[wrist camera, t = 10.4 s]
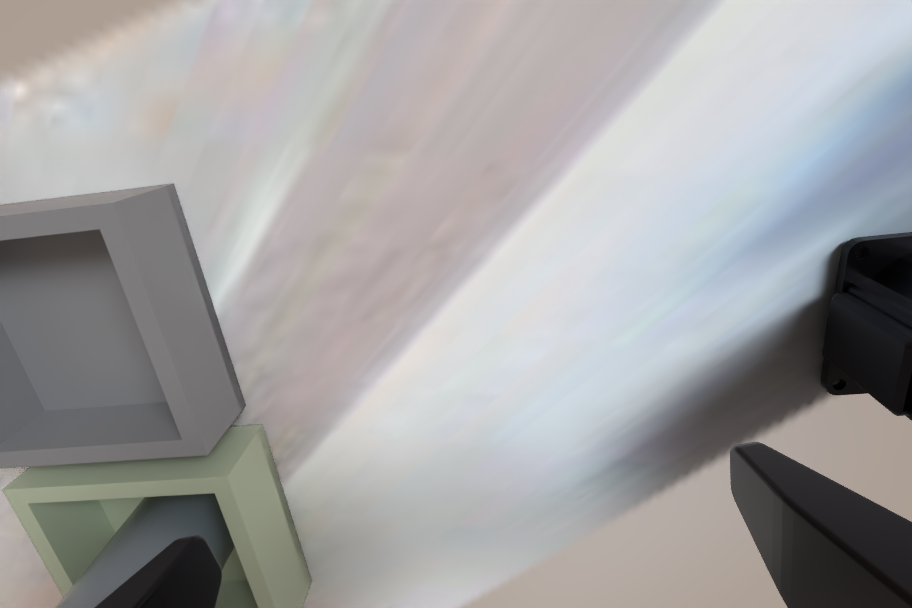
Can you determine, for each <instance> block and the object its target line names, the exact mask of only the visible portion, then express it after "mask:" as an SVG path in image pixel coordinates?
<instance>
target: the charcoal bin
mask: <svg viewBox="0 0 912 608" xmlns="http://www.w3.org/2000/svg"><path fill="white" fill-rule="evenodd" d="M245 406H246V405H245V402H244V399H243V396H242V393H241V390H240V386H239V383H238V380H237V377H236V374H235V371H234V368H233V365H232V362H231V359H230V356H229V353H228V350H227V346H226V343H225V340H224V337H223V334H222V331H221V328H220V325H219V322H218V319H217V316H216V313H215V310H214V307H213V303H212V300H211V297H210V294H209V291H208V288H207V285H206V282H205V279H204V276H203V273H202V270H201V267H200V263H199V260H198V257H197V254H196V251H195V248H194V245H193V242H192V239H191V236H190V233H189V230H188V227H187V223H186V220H185V217H184V214H183V211H182V208H181V205H180V202H179V199H178V196H177V193H176V190H175V187H174V184H166V185H158V186H150V187H142V188H134V189H126V190H118V191H110V192H101V193H93V194H85V195H77V196H69V197H61V198H53V199H44V200H36V201H28V202H20V203H12V204H4V205H0V468H16V467H31V466H47V465H63V464H78V463H94V462H110V461H125V460H141V459H157V458H172V457H188V456H204V455H208V454H209V453H210V451H211V450H212V449H213V447H214V446H215V445H216V444H217V442H218V441H219V440H220V438H221V437H222V436H223V434H224V433H225V432H226V430H227V429H228V428H229V427H230V425H231V424H232V423H233V421H234V420H235V419H236V417H237V416H238V415H239V413H240V412H241V411H242V410H243V408H244V407H245Z"/></svg>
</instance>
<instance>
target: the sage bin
mask: <svg viewBox="0 0 912 608" xmlns="http://www.w3.org/2000/svg"><path fill="white" fill-rule="evenodd" d="M2 491H3V492H4V494H5V496H6V498H7V499H8V501H9V503H10V505H11V506H12V508H13V510H14V512H15V513H16V515H17V517H18V519H19V520H20V522H21V524H22V525H23V527H24V529H25V531H26V532H27V534H28V536H29V538H30V539H31V541H32V543H33V545H34V546H35V548H36V550H37V552H38V553H39V555H40V557H41V559H42V560H43V562H44V564H45V566H46V567H47V569H48V571H49V573H50V574H51V576H52V578H53V580H54V581H55V583H56V585H57V587H58V588H59V590H60V592H61V594H62V595H63V597H64V596H65V595H66V594H67V592H68V591H69V590H70V589H71V587H72V586H73V585H74V584H75V582H76V581H77V580H78V579H79V577H80V576H81V575H82V574H83V573H84V571H85V570H86V569H87V568H88V566H89V565H90V564H91V563H92V561H93V560H94V559H95V558H96V556H97V555H98V554H99V553H100V552H101V550H102V549H103V548H104V547H105V545H106V544H107V543H108V542H109V540H110V539H111V538H112V537H113V535H114V534H115V533H116V532H117V531H118V529H119V528H120V527H121V526H122V524H123V523H124V522H125V521H126V519H127V518H128V517H129V516H130V514H131V513H132V512H133V511H134V510H135V508H136V507H137V506H138V505H139V503H140V502H141V501H142V500H143V498H144V497H155V496H173V495H191V494H209V493H215V495H216V498H217V501H218V503H219V506H220V509H221V511H222V514H223V517H224V519H225V522H226V524H227V527H228V530H229V532H230V535H231V538H232V540H233V543H234V546H235V547H234V549H233V551H232V553H231V554H230V556H229V558H228V560H227V562H226V564H225V566H224V568H223V569H222V581H221V586H220V590H219V594H218V598H217V602H216V606H215V608H302V607H303V604H304V602H305V599H306V596H307V593H308V591H309V588H310V585H311V582H312V580H311V577H310V574H309V571H308V567H307V564H306V561H305V558H304V555H303V552H302V548H301V545H300V542H299V539H298V536H297V533H296V529H295V526H294V523H293V520H292V517H291V514H290V510H289V507H288V504H287V501H286V498H285V495H284V491H283V488H282V485H281V482H280V479H279V476H278V472H277V469H276V466H275V463H274V460H273V457H272V454H271V450H270V447H269V444H268V441H267V438H266V435H265V431H264V428H263V425H251V426H237V427H229V428H228V429H227V430H226V432H225V433H224V434H223V436H222V437H221V438H220V440H219V441H218V442H217V444H216V445H215V446H214V447H213V449H212V450H211V451H210V453H209V454H208V455H204V456H188V457H172V458H157V459H141V460H125V461H110V462H94V463H78V464H63V465H47V466H31V467H29V468H28V469H27V470H26V471H24V472H23V473H22V474H21V475H19V476H18V477H17V478H16V479H15V480H13V481H12V482H11V483H10V484H9V485H7V486H6V487H5V488H4V489H3V490H2Z"/></svg>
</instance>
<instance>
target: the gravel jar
mask: <svg viewBox="0 0 912 608" xmlns="http://www.w3.org/2000/svg"><path fill="white" fill-rule="evenodd" d="M194 535H200V536H202V537H204V538H205V539H206V541H207V543H208V545H209V546H210V548H211V550H212V552H213V554H214V556H215V557H216V559H217V561H218V563H219V565H220V567H221V571H222V569H223V568H224V566H225V564H226V562H227V560H228V558H229V556H230V554H231V553H232V551H233V549H234V547H235V546H234V543H233V540H232V538H231V535H230V532H229V530H228V527H227V524H226V522H225V519H224V517H223V514H222V511H221V509H220V506H219V503H218V501H217V498H216V495H215V493H209V494H191V495H173V496H155V497H144V498H143V500H142V501H141V502H140V503H139V505H138V506H137V507H136V508H135V510H134V511H133V512H132V513H131V514H130V516H129V517H128V518H127V519H126V521H125V522H124V523H123V524H122V526H121V527H120V528H119V529H118V531H117V532H116V533H115V534H114V535H113V537H112V538H111V539H110V540H109V542H108V543H107V544H106V545H105V547H104V548H103V549H102V550H101V552H100V553H99V554H98V555H97V556H96V558H95V559H94V560H93V561H92V563H91V564H90V565H89V566H88V568H87V569H86V570H85V571H84V573H83V574H82V575H81V576H80V577H79V579H78V580H77V581H76V582H75V584H74V585H73V586H72V587H71V589H70V590H69V591H68V592H67V594H66V595H65V596H64V597H63V598H62V600H61V601H60V602H59V603H58V605H57V606H56V607H55V608H94V607H95V606H97V605H98V604H99V603H100V602H101V601H103V600H104V599H105V598H106V597H107V596H109V595H110V594H111V593H112V592H113V591H115V590H116V589H117V588H118V587H119V586H121V585H122V584H123V583H124V582H125V581H127V580H128V579H129V578H130V577H131V576H133V575H134V574H135V573H136V572H137V571H139V570H140V569H141V568H142V567H143V566H145V565H146V564H147V563H148V562H149V561H151V560H152V559H153V558H154V557H155V556H156V555H158V554H159V553H160V552H161V551H162V550H164V549H165V548H166V547H167V546H168V545H170V544H171V543H172V542H173V541H175V540H176V539H179V538H182V537H188V536H194Z"/></svg>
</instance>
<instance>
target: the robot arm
mask: <svg viewBox="0 0 912 608" xmlns="http://www.w3.org/2000/svg"><path fill="white" fill-rule="evenodd" d="M862 247H863V251H862V253H861V254H860V255H859V256H857V257H855V253H856V251H857V250H858V249H859V248H862ZM822 354H823V356H824V362H823V368H822V375H821V385H822V387H823V388H824V389H825V390H826V391H827V392H829V393H830V394H832V395H849V394H864V393H869V394H870V395H871V396H872V397H874V398H875V399H876V400H877V401H878V402H880V403H881V404H882V405H883V406H885V407H886V408H887V409H888V410H889V411H891V412H892V413H893V414H895V415H897V416H903V415H905V416H907V417H908V418H909V419H910V420H912V232H909V233H899V234H889V235H878V236H868V237H858V238H854V239H851V240H850V241H848V242H847V243H846V244H845V245H844V246H843V248H842V251H841V255H840V262H839V268H838V274H837V280H836V287H835V293H834V296H833V297H832V299H831V301H830V307H829V314H828V320H827V327H826V333H825V339H824V346H823V352H822ZM839 379H840V381H839V382H838V383H837V384H834V385H833V383H834V382H835V381H836V380H839ZM730 473H731V490H732V494H733V497H734V499H735V502H736V504H737V506H738V508H739V510H740V512H741V514H742V516H743V519H744V521H745V523H746V525H747V527H748V529H749V531H750V533H751V535H752V537H753V539H754V542H755V544H756V546H757V548H758V550H759V552H760V554H761V556H762V558H763V560H764V562H765V564H766V566H767V569H768V571H769V573H770V575H771V577H772V579H773V581H774V583H775V585H776V587H777V589H778V591H779V593H780V595H781V597H782V598H783V600H784V602H785V603H786V605H787V607H788V608H912V522H911V521H909V520H907V519H905V518H903V517H901V516H899V515H897V514H895V513H893V512H892V511H890V510H888V509H886V508H884V507H882V506H880V505H878V504H876V503H874V502H872V501H871V500H869V499H867V498H865V497H863V496H861V495H859V494H857V493H855V492H854V491H851V490H850V489H848V488H846V487H844V486H842V485H840V484H838V483H836V482H834V481H833V480H831V479H829V478H827V477H825V476H823V475H821V474H819V473H817V472H815V471H814V470H811V469H810V468H808V467H806V466H804V465H802V464H800V463H798V462H797V461H795V460H792V459H791V458H789V457H787V456H785V455H783V454H781V453H779V452H777V451H776V450H773V449H772V448H770V447H768V446H766V445H764V444H762V443H759V442H752V443H746V444H740V445H735V446H733V447H732V448H731V451H730ZM221 581H222V571H221V567H220V565H219V563H218V561H217V559H216V557H215V556H214V554H213V552H212V550H211V548H210V546H209V545H208V543H207V541H206V539H205V538H204V537H202V536H200V535H194V536H188V537H182V538H179V539H176V540H175V541H173V542H172V543H171V544H170V545H168V546H167V547H166V548H165V549H164V550H162V551H161V552H160V553H159V554H158V555H156V556H155V557H154V558H153V559H152V560H151V561H149V562H148V563H147V564H146V565H145V566H143V567H142V568H141V569H140V570H139V571H137V572H136V573H135V574H134V575H133V576H131V577H130V578H129V579H128V580H127V581H125V582H124V583H123V584H122V585H121V586H119V587H118V588H117V589H116V590H115V591H113V592H112V593H111V594H110V595H109V596H107V597H106V598H105V599H104V600H103V601H101V602H100V603H99V604H98V605H97V606H95V607H94V608H215V606H216V602H217V598H218V594H219V590H220V586H221Z"/></svg>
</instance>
